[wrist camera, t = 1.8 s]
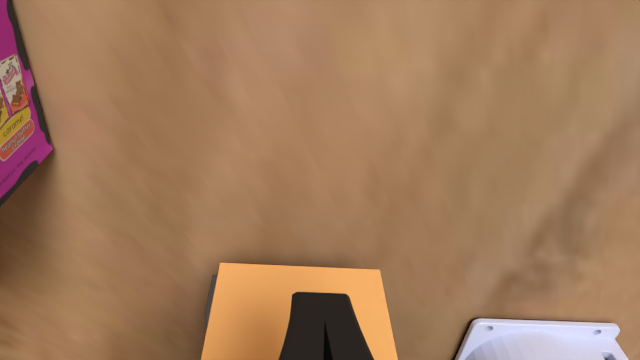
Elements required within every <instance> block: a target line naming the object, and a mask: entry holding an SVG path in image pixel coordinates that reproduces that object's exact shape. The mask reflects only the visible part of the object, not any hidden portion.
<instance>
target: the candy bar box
mask: <svg viewBox="0 0 640 360" xmlns="http://www.w3.org/2000/svg"><path fill="white" fill-rule="evenodd" d="M52 150H53V148H52V144H51V142H50V140H49V136H48V133H47V129H46V125H45V122H44V118H43V114H42V111H41V107H40V103H39V100H38V97H37V93H36V90H35V87H34V81H33V77H32V74H31V71H30V68H29V65H28V61H27V58H26V54H25V50H24V47H23V44H22V40H21V36H20V33H19V29H18V25H17V22H16V18H15V15H14V11H13V8H12V4H11V1H10V0H0V207H1V206H2V205H3V204H4V203H5V201H6V200H7V199H8V198H9V197H10V196H11V195H12V193H13V192H14V191H15V190H16V189H17V188H18V187H19V186H20V185H21V184H22V183H23V181H24V180H25V179H26V178H27V177H28V176H29V175H30V174H31V173H32V172H33V171H34V170H35V168H36V167H37V166H38V165H39V164H40V163H41V162H42V161H43V160H44V159H45V158H46V157H47V156H48V155H49V154H50V153H51V151H52Z"/></svg>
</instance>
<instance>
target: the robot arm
mask: <svg viewBox="0 0 640 360" xmlns="http://www.w3.org/2000/svg"><path fill="white" fill-rule="evenodd" d="M619 332H620V329H619V327H618V326H617V325H616V324H614V323H595V322H567V321H539V320H511V319H483V318H480V319H475V320H474V321H473V322H472V323H471V325H470V327H469V329H468V331H467V334H466V336H465V338H464V340H463V342H462V345H461V347H460V349H459V351H458V354H457V356H456V358H455V360H628V358H627V357H626V355H625V354H624V352H623V351H622V349H621V348H620V346H619V345H618V343H617V342H616V340H615V338H616V336H617V335H618V334H619ZM278 360H374V358H373V356H372V354H371V352H370V349H369V347H368V345H367V343H366V340H365V338H364V335H363V333H362V331H361V328H360V326H359V323H358V321H357V318H356V315H355V312H354V309H353V307H352V303H351V300H350V297H349V296H348V295H347V294H344V293H319V292H296V293H294V294H292V300H291V310H290V319H289V323H288V328H287V332H286V336H285V340H284V343H283V347H282V350H281V353H280V356H279V359H278Z"/></svg>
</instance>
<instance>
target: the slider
mask: <svg viewBox="0 0 640 360" xmlns="http://www.w3.org/2000/svg"><path fill="white" fill-rule="evenodd" d="M296 292H319V293H344V294H347V295H348V296H349V297H350V300H351V303H352V307H353V309H354V312H355V315H356V318H357V321H358V323H359V326H360V328H361V331H362V333H363V335H364V338H365V340H366V343H367V345H368V347H369V349H370V352H371V354H372V356H373V358H374V360H398V358H397V353H396V349H395V344H394V339H393V334H392V329H391V324H390V319H389V314H388V309H387V304H386V299H385V294H384V289H383V284H382V279H381V274H380V270H371V269H349V268H327V267H304V266H282V265H259V264H237V263H220V267H219V272H218V277H217V282H216V287H215V292H214V297H213V302H212V307H211V312H210V317H209V322H208V327H207V332H206V337H205V342H204V347H203V352H202V357H201V360H278V359H279V356H280V353H281V350H282V347H283V343H284V340H285V336H286V332H287V328H288V323H289V319H290V310H291V300H292V294H294V293H296Z"/></svg>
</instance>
